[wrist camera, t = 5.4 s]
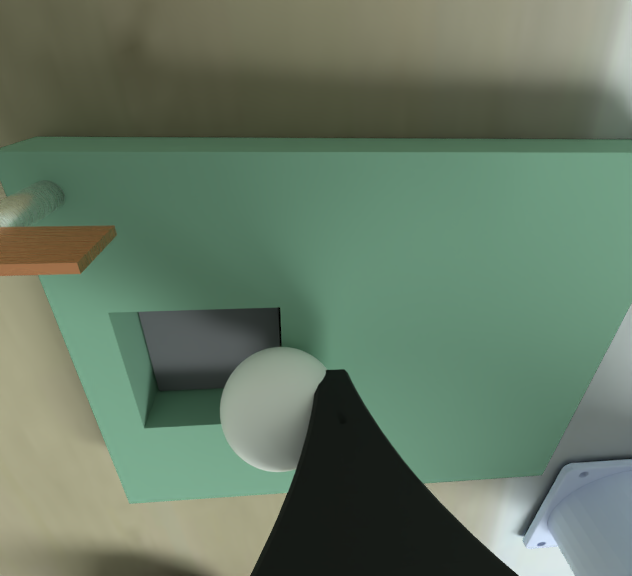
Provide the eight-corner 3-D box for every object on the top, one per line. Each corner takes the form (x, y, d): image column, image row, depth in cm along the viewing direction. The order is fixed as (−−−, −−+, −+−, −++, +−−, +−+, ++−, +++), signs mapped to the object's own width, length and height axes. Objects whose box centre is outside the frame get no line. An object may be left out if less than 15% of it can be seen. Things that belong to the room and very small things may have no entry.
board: (647, 139, 12) (709, 152, 10) (518, 437, 19) (542, 475, 17) (36, 136, 10) (-12, 151, 9) (144, 460, 18) (129, 503, 16)
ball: (183, 374, 10) (270, 309, 12) (203, 454, 12) (276, 384, 14) (288, 444, 8) (365, 353, 11) (292, 523, 10) (357, 430, 13)
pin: (168, 161, 11) (72, 247, 6) (172, 185, 11) (84, 287, 6) (68, 161, 11) (-121, 251, 6) (75, 185, 11) (-97, 291, 6)
